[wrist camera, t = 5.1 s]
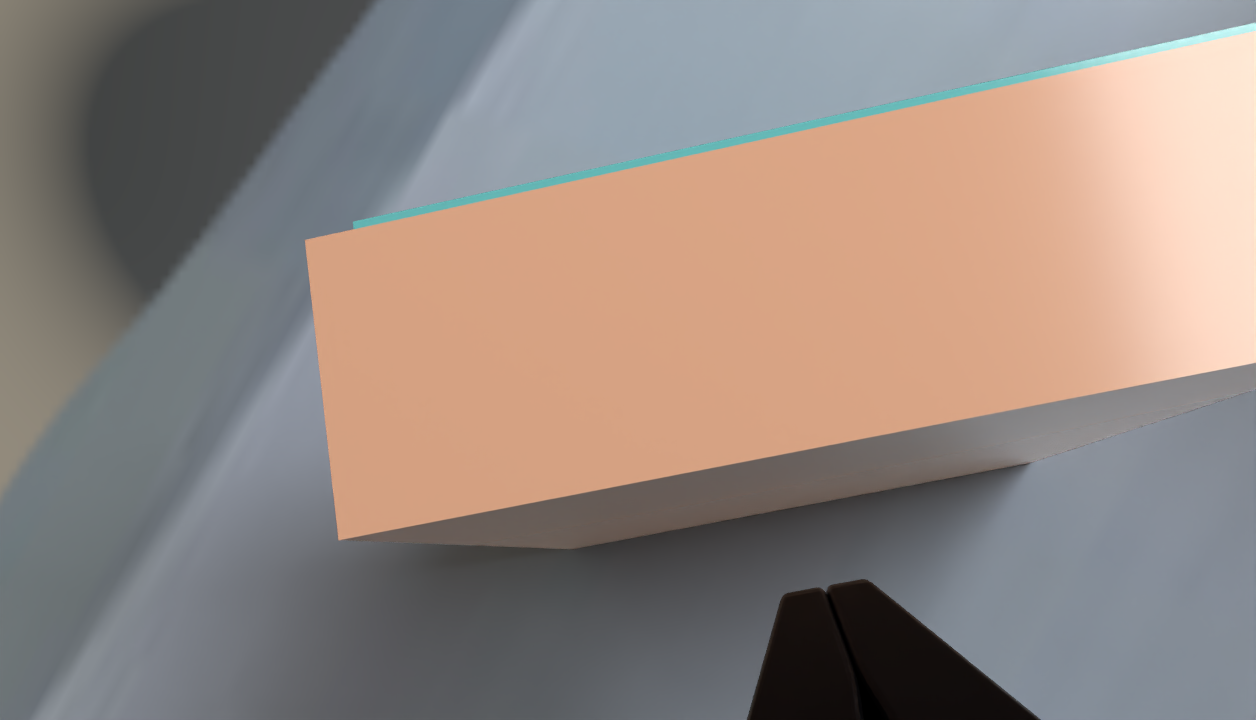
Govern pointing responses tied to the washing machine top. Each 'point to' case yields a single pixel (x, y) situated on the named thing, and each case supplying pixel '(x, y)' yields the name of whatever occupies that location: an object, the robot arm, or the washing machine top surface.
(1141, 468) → the washing machine top surface
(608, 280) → the block
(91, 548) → the washing machine top surface
